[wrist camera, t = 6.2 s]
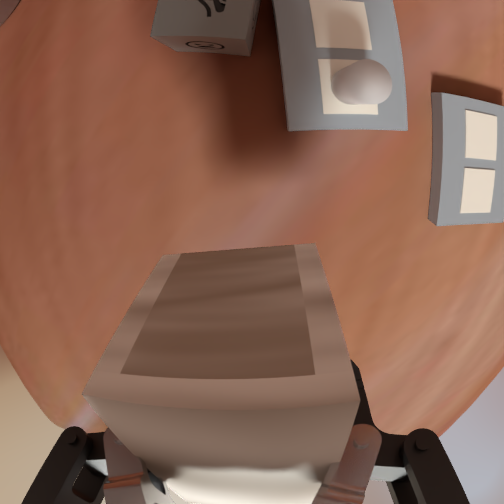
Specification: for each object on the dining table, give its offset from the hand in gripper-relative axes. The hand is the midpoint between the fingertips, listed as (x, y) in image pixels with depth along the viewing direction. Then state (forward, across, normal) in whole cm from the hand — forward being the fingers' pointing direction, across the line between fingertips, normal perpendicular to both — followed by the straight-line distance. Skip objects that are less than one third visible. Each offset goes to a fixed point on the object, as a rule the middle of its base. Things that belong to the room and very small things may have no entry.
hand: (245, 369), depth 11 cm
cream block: (+2, 0, 0) cm, 2 cm away
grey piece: (+12, -7, -13) cm, 19 cm away
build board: (+12, -18, -6) cm, 22 cm away
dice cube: (+12, +1, -16) cm, 21 cm away
